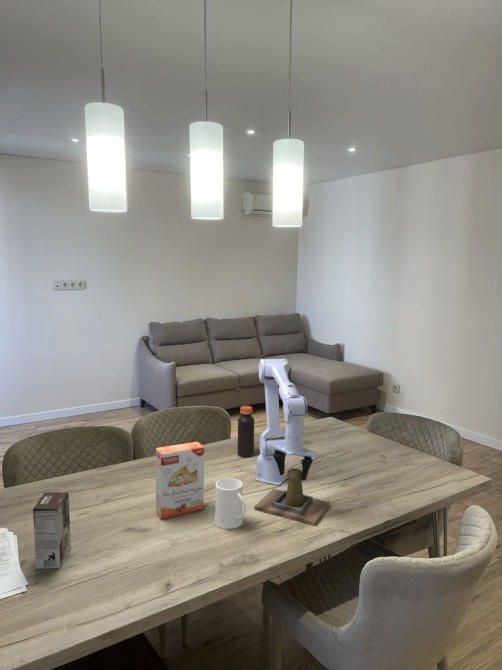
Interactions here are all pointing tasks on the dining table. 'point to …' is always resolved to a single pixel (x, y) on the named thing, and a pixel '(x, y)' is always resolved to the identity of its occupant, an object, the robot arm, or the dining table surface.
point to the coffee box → (51, 529)
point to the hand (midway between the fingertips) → (293, 476)
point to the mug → (229, 503)
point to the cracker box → (179, 479)
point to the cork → (294, 488)
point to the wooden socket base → (304, 514)
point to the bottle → (245, 432)
